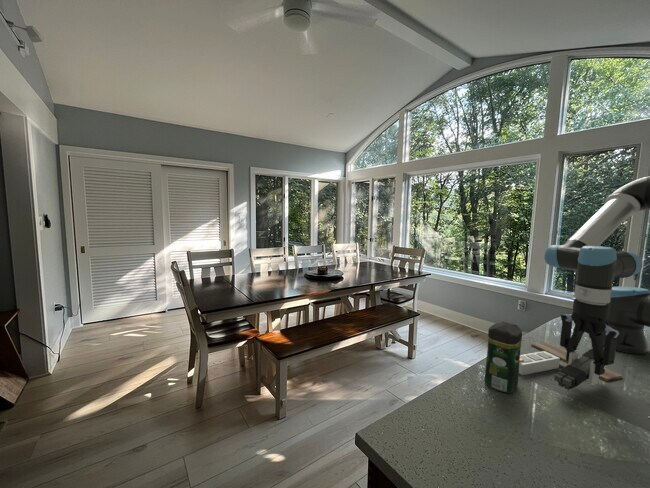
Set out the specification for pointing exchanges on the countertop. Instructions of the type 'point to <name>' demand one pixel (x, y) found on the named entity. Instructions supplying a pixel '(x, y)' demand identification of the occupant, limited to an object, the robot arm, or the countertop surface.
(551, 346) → the walnut board
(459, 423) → the countertop surface
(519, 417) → the countertop surface
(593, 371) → the robot arm
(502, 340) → the coffee jar
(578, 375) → the gun
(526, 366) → the power strip
